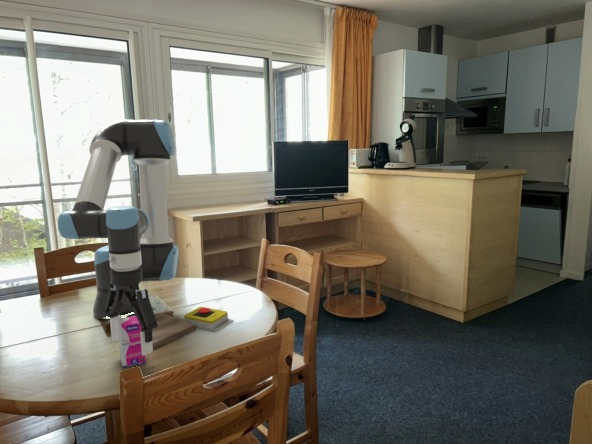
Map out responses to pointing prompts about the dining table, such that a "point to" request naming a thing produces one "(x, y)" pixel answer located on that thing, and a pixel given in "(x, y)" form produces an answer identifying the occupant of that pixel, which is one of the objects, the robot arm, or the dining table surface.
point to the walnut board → (169, 329)
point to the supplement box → (130, 341)
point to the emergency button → (208, 318)
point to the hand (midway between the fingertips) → (131, 346)
